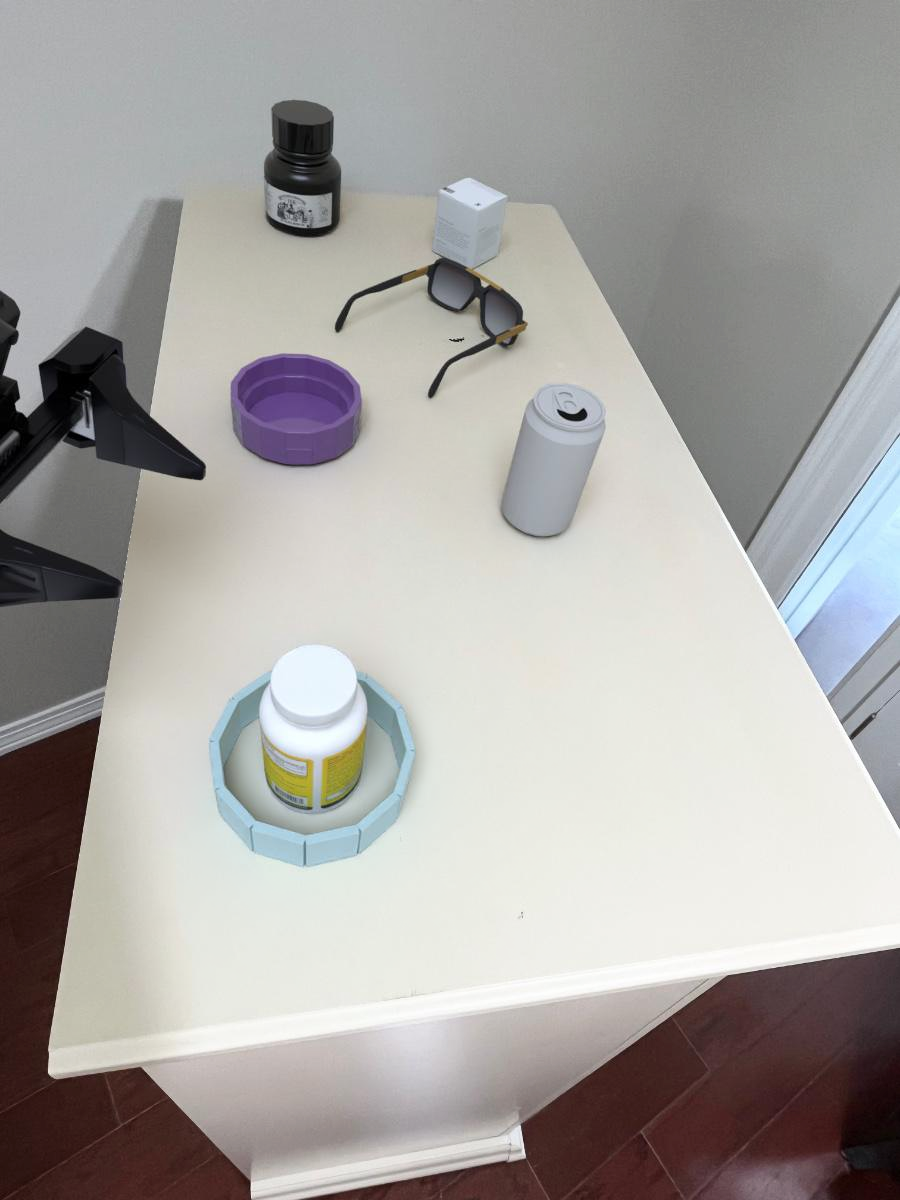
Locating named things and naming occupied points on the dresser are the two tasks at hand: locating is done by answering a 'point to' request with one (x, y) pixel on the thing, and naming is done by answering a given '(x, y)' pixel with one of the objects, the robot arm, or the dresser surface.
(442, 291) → the sunglasses
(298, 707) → the pill bottle
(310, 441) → the purple bowl
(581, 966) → the dresser surface
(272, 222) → the ink bottle
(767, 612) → the dresser surface
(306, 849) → the light blue ring
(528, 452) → the beverage can
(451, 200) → the white cardboard box
